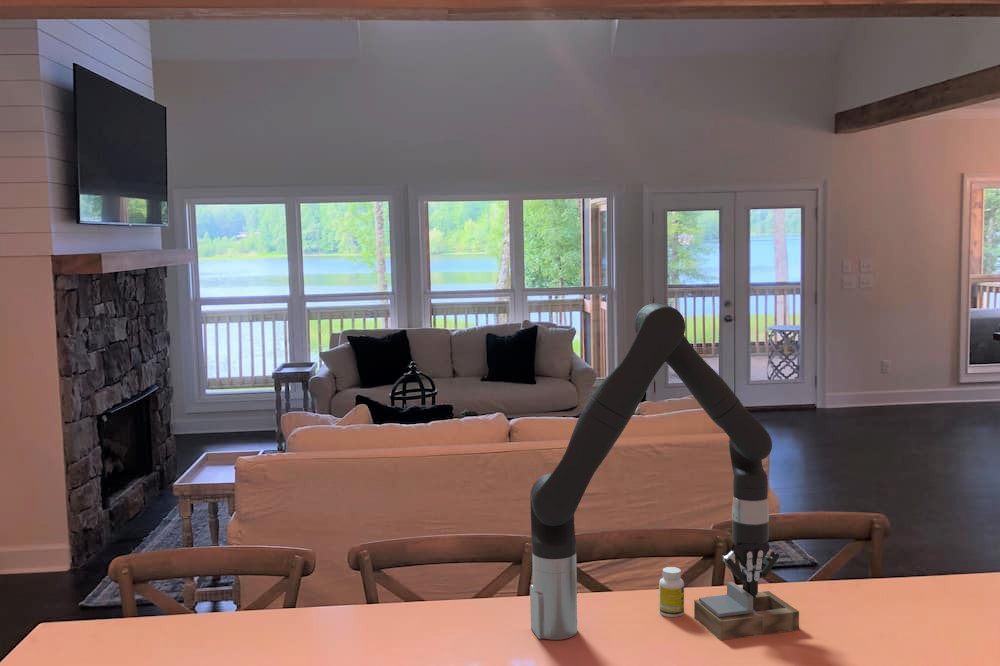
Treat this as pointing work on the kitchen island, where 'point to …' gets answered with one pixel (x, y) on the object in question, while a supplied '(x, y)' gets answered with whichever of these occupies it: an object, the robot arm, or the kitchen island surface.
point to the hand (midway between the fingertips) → (750, 596)
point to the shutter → (730, 602)
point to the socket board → (751, 618)
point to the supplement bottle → (671, 593)
